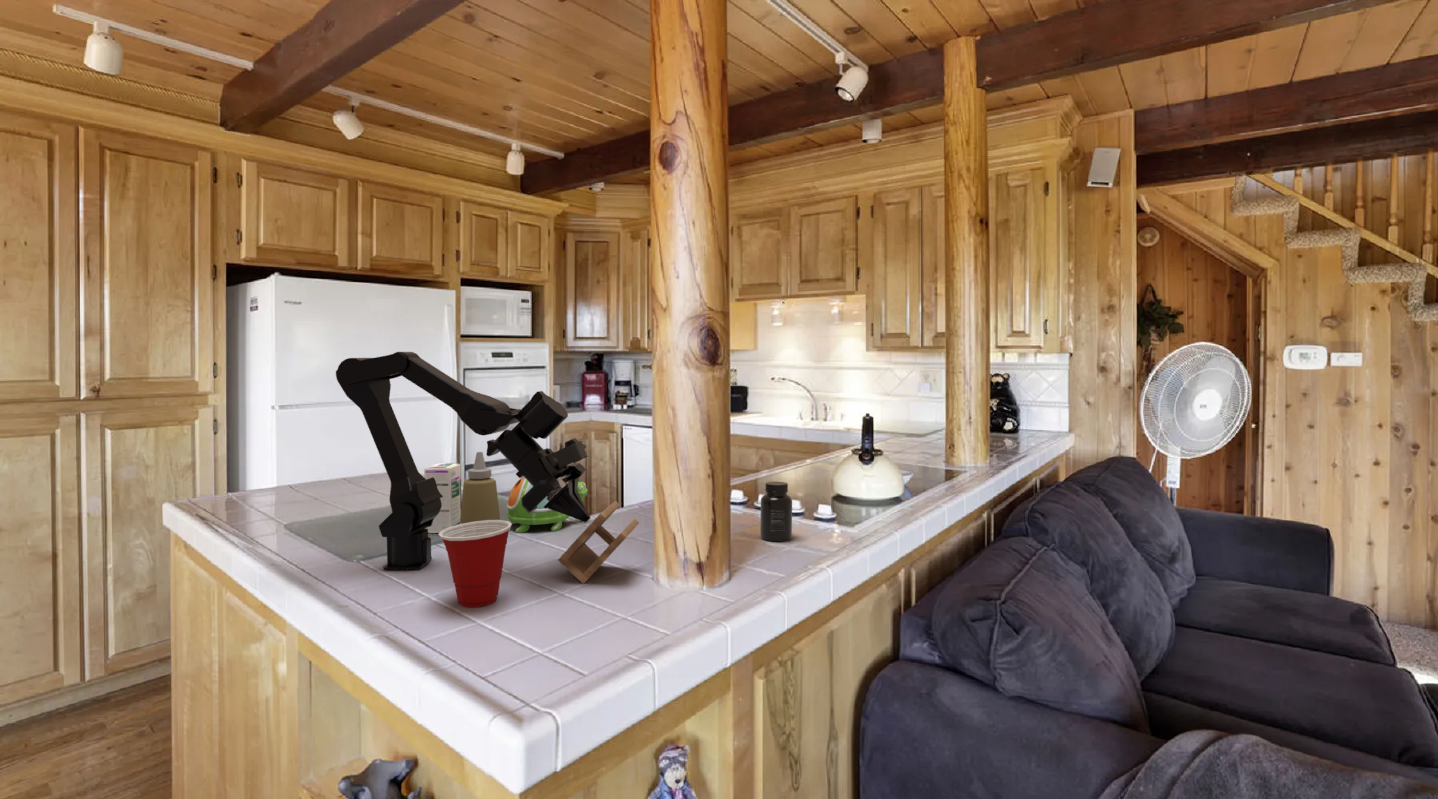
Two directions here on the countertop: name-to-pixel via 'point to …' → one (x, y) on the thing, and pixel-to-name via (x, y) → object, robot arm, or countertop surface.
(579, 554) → the wooden napkin holder
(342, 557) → the countertop surface
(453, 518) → the syrup box
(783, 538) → the supplement bottle
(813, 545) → the countertop surface
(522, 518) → the turtle holder
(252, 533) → the countertop surface
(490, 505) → the squeeze bottle
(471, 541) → the plastic cup
